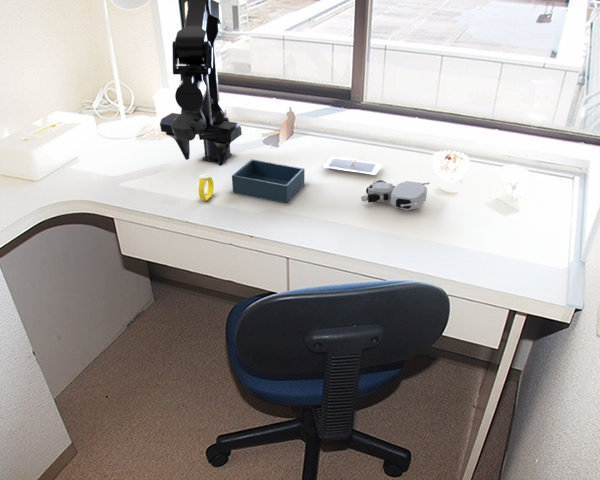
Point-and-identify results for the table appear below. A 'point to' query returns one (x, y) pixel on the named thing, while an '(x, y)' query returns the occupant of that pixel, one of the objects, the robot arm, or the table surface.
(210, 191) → the watch
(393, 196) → the robot toy
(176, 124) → the robot arm
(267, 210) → the table surface
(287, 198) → the organiser tray
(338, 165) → the touchpad
